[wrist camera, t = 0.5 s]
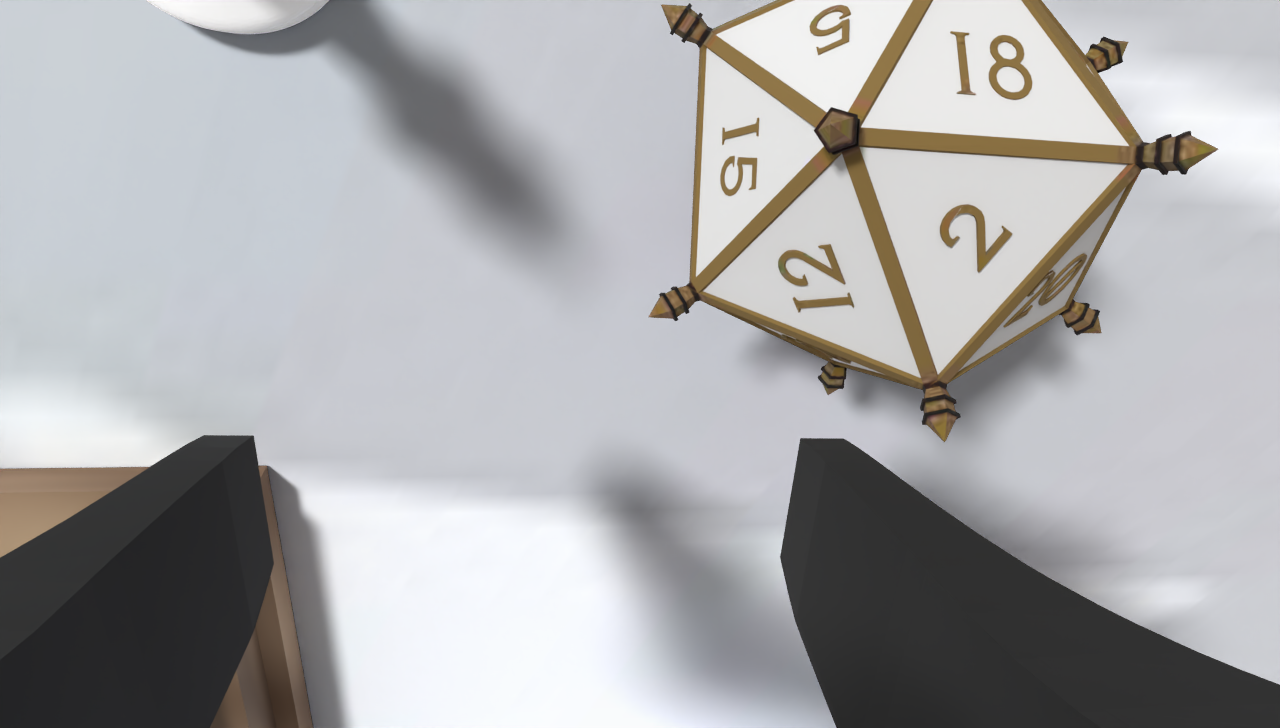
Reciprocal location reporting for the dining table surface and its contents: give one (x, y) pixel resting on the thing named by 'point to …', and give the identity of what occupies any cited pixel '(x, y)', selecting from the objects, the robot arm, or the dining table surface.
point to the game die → (905, 180)
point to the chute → (271, 666)
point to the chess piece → (241, 13)
